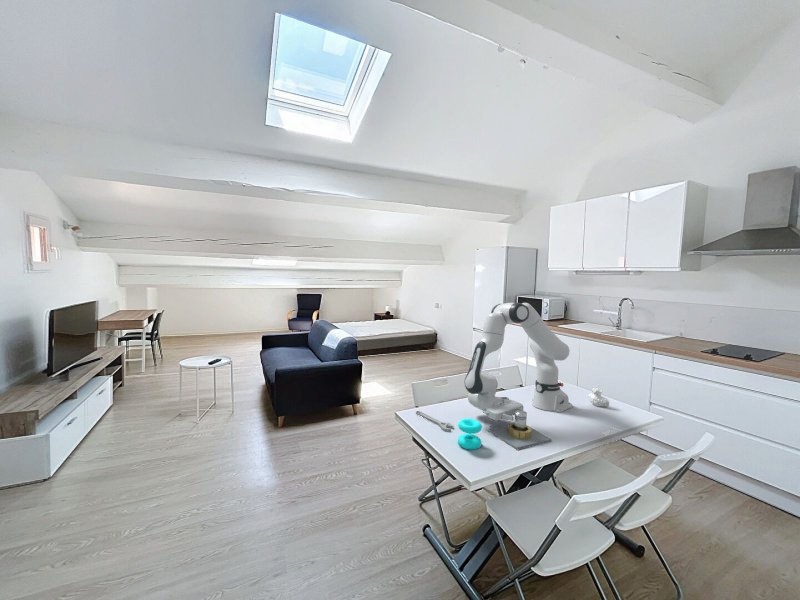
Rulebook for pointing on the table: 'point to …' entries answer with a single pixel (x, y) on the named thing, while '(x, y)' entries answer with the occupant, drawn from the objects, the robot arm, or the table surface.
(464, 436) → the donuts
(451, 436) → the table surface
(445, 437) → the table surface
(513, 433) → the brass ring
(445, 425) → the adjustable wrench
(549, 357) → the robot arm
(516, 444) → the plate
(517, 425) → the cylinder
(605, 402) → the duck figurine
